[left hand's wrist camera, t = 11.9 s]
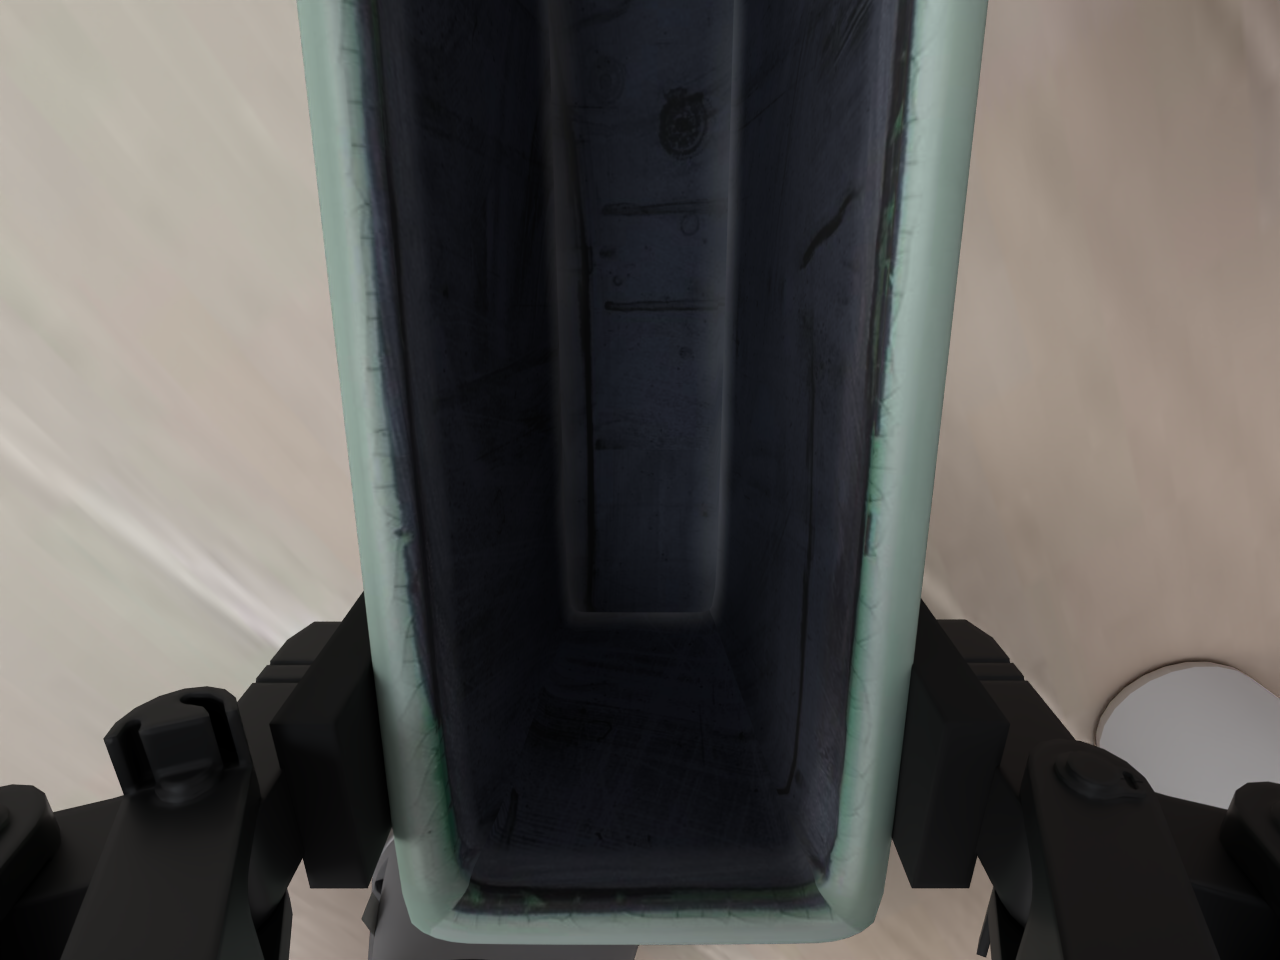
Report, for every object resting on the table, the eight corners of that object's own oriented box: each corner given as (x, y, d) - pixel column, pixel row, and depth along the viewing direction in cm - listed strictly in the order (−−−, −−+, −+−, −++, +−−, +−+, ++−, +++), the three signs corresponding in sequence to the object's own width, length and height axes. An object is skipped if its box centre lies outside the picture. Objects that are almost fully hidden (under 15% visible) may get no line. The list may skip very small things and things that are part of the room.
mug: (1121, 643, 33) (1313, 825, 24) (1302, 660, 33) (1564, 847, 24) (1046, 811, 37) (1182, 1023, 28) (1206, 825, 38) (1396, 1040, 28)
